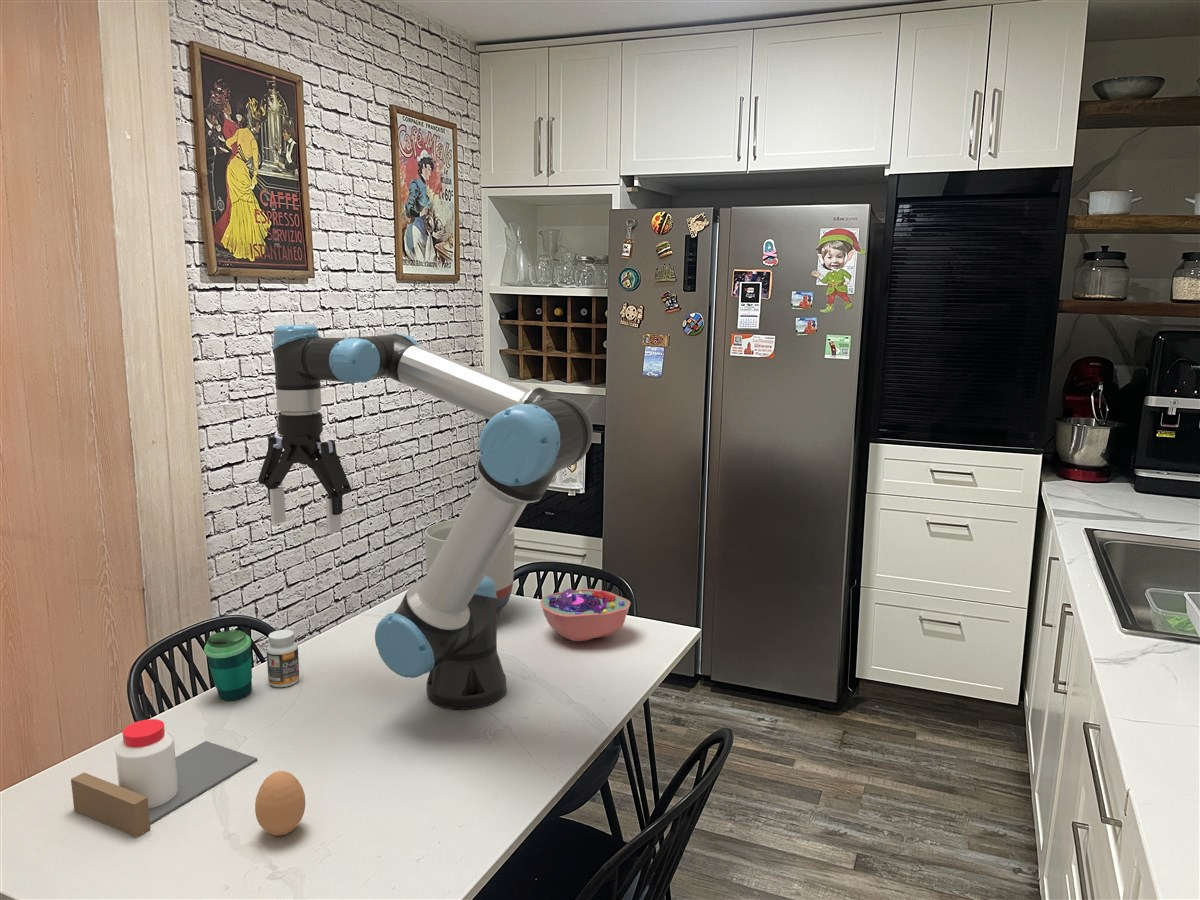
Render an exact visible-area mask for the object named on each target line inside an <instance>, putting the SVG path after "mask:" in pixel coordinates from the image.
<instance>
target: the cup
mask: <svg viewBox="0 0 1200 900" xmlns="http://www.w3.org/2000/svg"><path fill="white" fill-rule="evenodd" d="M206 641H207V642H206V644H205V645H204V649H203V652H204V654H205V656H206V658H207V661H208V667H209V670H210V673H211V677H212V680H213V683H214V687H215V688H216V691H217V694H218V697H219V699H220V700H223V701H226V702H227V701H228V702H229V701H230V702H232V701H238V700H242V699H244V698H246V697H248V696H249V695H250V694H251V693H252V689H253V683H252V680H253V669H252V667H253V666H252V663H253V662H252V653H251V645H252V639H251V637H250V635H248V634H246V632H244V631H243V630H238V629H231V630H229V629H228V630H223V631H219V632H218V631H217V632H215V633H213V634H211V635H210V636H209V637H208V639H207V640H206Z"/></svg>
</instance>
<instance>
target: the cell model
mask: <svg viewBox="0 0 1200 900" xmlns="http://www.w3.org/2000/svg"><path fill="white" fill-rule="evenodd" d="M630 605H631V601H630V600H629V599H627V598H625V597H622V596H619V595H617V594H615V593H614V592H611V591H606V590H599V589H594V588H583V589H575V590H573V588H572V587H569V588H567V589H564V590H563V591H560V592H555V593H551V594H548V595H545V596H543V597H542V598H541V599H540V607H541V609H542V610H541V611H542V613H543V615H544V617H545V619H546V622H547V624H548V625H549V626H550V627H551V628H552V630H553V631H554V632H555V634H558V635H559V636H562V637H563V638H565V639H567V640H568V641H572V642H585V641H591V640H594V639H597V638H602V639H603V638H604V639H605V638H608V637H610V636H612V635H613V634H615V633H617V632H619V630H620V629H621V628H623V625H624V624H625V621H626V617H627V615H628V611H629V609H630Z"/></svg>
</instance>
